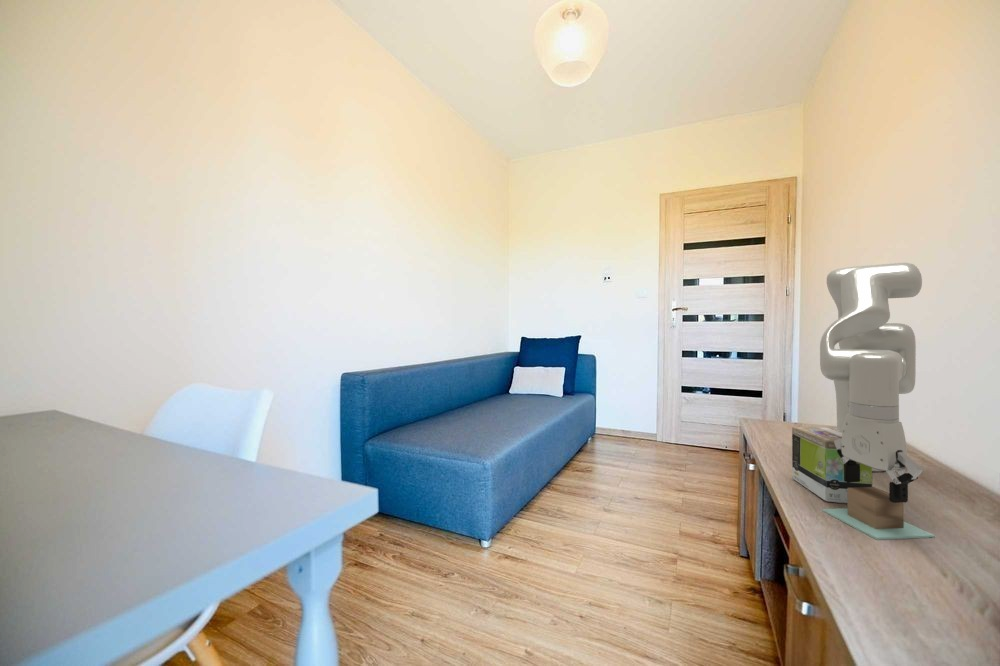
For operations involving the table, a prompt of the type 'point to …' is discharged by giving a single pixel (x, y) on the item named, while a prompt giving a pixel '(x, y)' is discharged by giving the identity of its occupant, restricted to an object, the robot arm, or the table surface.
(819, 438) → the tea box
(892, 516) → the walnut cube
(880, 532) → the teal pad
